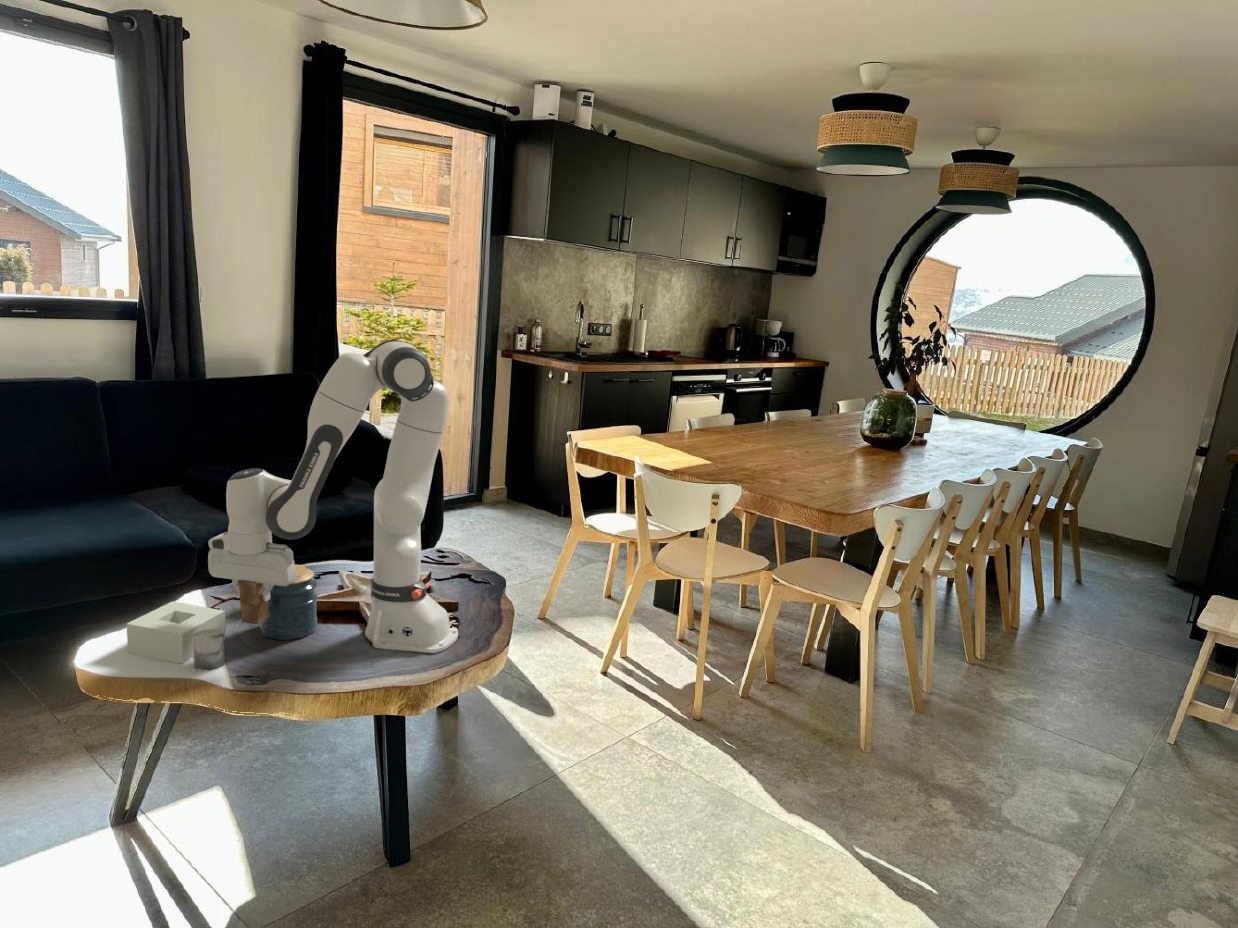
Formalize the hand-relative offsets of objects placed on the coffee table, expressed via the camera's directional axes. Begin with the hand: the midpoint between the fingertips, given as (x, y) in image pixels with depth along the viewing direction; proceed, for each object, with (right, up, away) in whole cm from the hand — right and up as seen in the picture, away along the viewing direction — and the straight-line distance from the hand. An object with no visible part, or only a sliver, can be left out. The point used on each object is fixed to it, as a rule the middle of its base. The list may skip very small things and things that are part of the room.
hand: (254, 598), depth 192 cm
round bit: (-7, -13, -7) cm, 17 cm away
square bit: (0, -5, +1) cm, 5 cm away
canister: (+3, -10, +13) cm, 17 cm away
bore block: (-18, -11, 0) cm, 21 cm away
